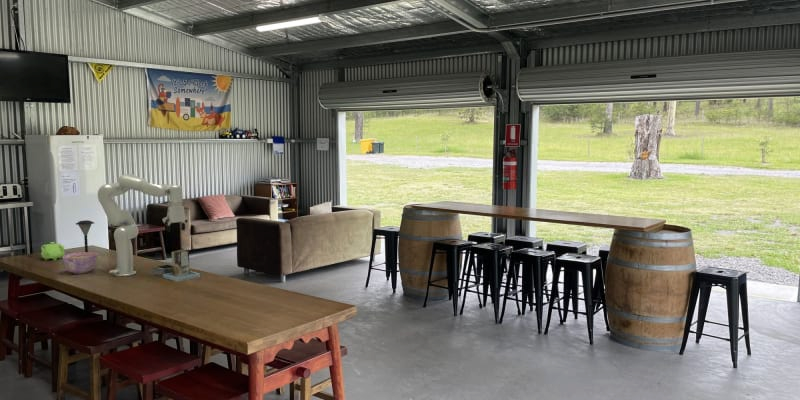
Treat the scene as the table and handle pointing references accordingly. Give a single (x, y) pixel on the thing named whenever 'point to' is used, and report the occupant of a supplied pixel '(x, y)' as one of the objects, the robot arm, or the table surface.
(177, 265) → the coffee box
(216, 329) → the table surface
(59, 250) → the green lumpy rounded block
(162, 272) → the metal sleeve
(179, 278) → the pale blue square tray
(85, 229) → the solar garden light
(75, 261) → the bowl of food
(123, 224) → the robot arm
